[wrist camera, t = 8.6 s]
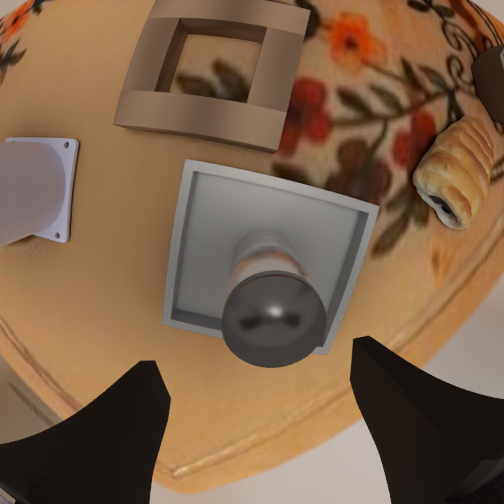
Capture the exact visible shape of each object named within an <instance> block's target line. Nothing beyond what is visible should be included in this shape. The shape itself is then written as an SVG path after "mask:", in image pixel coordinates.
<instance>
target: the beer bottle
mask: <svg viewBox="0 0 504 504" xmlns="http://www.w3.org/2000/svg"><path fill="white" fill-rule="evenodd" d="M471 68H472V73H473V77H474V82H475V87H476V92H477V95H478V97H479V98H480V100H481V101H482V103H483V104H484V106H485V108H486V109H487V111H488V113H489V114H490V116H491V118H492V119H494V120H496V121H498V122H501V123H503V124H504V44H502V45H499V46H496V47H493V48H491V49H489V50H487V51H484V52H482V53H481V54H480V55H479V57H478V58H477V59H476V61H475V62H474V64H473V65H472V67H471Z"/></svg>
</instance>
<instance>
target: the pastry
mask: <svg viewBox="0 0 504 504" xmlns="http://www.w3.org/2000/svg"><path fill="white" fill-rule="evenodd" d="M492 167H493V143H492V141H491V138H490V136H489V134H488V132H487V131H486V129H485V128H484V124H483V122H482V120H480V119H479V118H475V117H471V116H464V117H462V118H461V119H460V120H458V121H457V122H456V123H453V124H451V125H450V126H449V127H448V128H447V129H446V130H445V131H444V132H442V133H440V134H438V136H437V138H436V140H435V142H434V144H433V145H432V146H431V148H430V149H429V150H428V152H427V153H426V154H425V155H424V156H423V158H422V159H421V161H420V163H419V164H418V166H417V168H416V170H415V171H414V174H413V184H414V185H415V186H416V188H417V192H418V194H419V195H420V196H421V198H422V199H423V200H424V201H426V202H427V203H428V204H429V205H430V206H431V207H432V208H434V209H435V211H436V213H437V215H438V217H439V219H440V220H441V221H442V222H443V223H444V224H445V225H446V226H448V227H450V228H452V229H457V230H463V229H465V228H467V227H469V226H470V224H471V220H472V219H473V218H474V217H475V216H476V215H477V213H478V212H479V210H480V209H481V207H482V204H483V201H484V199H485V198H486V197H487V196H488V194H489V184H490V174H491V169H492Z"/></svg>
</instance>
